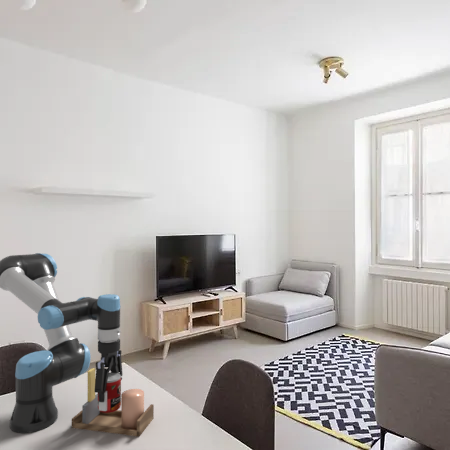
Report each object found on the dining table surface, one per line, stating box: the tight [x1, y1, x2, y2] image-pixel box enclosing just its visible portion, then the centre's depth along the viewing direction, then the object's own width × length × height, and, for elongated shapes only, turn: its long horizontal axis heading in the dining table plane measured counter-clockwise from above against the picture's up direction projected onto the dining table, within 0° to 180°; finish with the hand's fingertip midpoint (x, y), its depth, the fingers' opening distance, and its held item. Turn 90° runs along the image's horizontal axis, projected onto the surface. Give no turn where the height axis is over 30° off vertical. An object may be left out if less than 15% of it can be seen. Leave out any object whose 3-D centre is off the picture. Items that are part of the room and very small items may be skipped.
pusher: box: [81, 367, 100, 424], centre depth 133 cm, size 1×9×18 cm, turn 168°
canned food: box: [97, 371, 122, 413], centre depth 132 cm, size 8×8×11 cm
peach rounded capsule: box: [120, 388, 145, 430], centre depth 130 cm, size 8×8×11 cm
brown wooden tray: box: [71, 404, 155, 438], centre depth 131 cm, size 25×12×6 cm, turn 78°
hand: (109, 404), depth 132 cm, fingers closed on canned food, 8 cm apart
